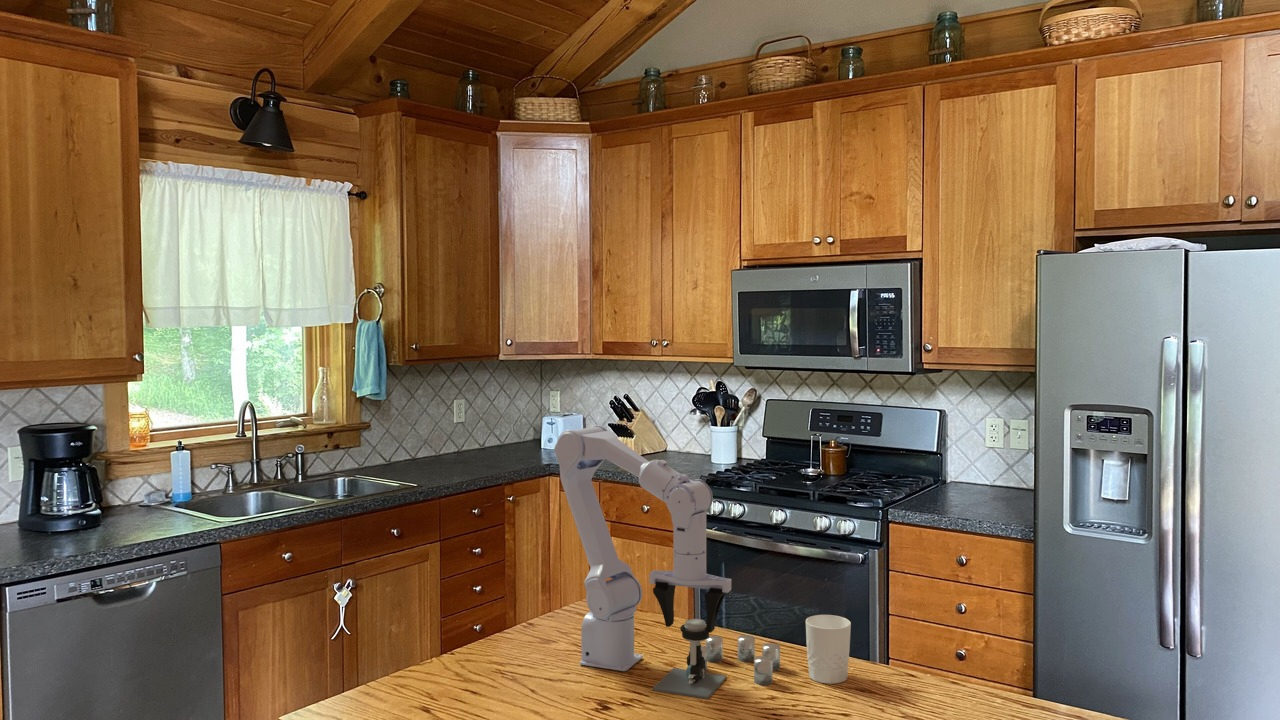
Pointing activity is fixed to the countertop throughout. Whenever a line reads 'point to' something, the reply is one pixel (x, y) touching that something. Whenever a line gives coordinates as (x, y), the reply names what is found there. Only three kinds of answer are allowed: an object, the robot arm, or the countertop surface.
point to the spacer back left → (714, 648)
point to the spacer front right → (763, 670)
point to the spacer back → (746, 648)
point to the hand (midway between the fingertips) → (690, 628)
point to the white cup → (828, 648)
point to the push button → (695, 648)
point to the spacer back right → (772, 654)
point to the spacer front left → (703, 655)
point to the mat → (689, 684)
